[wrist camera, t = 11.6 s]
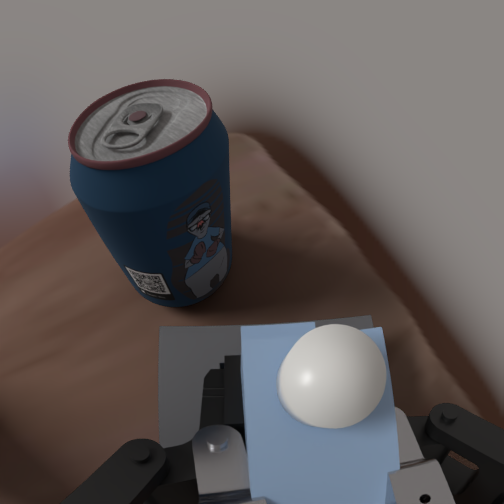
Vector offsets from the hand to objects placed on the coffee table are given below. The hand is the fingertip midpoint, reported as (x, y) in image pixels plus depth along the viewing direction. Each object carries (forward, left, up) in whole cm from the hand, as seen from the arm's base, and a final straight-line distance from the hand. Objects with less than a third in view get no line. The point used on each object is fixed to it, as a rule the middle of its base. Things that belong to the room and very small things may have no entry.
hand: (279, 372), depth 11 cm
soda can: (-5, +8, -7) cm, 12 cm away
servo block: (0, -2, -5) cm, 5 cm away
